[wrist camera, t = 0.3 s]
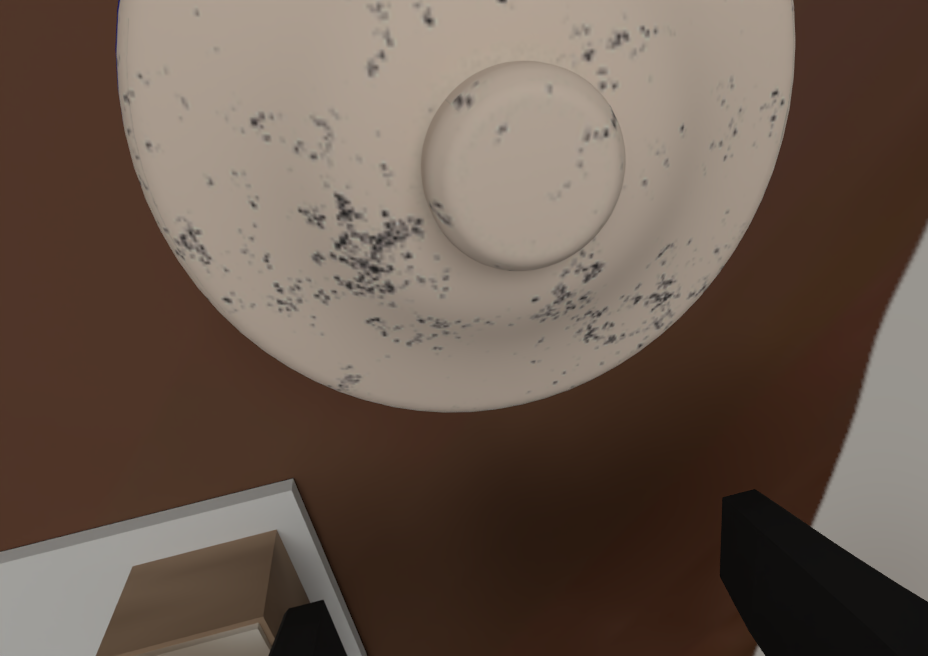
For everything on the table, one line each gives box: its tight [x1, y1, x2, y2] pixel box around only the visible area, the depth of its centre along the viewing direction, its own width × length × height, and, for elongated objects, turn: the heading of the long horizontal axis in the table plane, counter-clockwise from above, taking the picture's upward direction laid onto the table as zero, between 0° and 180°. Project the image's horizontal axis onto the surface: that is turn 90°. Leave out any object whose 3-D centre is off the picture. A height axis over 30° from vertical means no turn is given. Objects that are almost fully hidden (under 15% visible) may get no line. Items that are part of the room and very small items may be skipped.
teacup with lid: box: [116, 0, 795, 412], centre depth 10 cm, size 12×9×12 cm
